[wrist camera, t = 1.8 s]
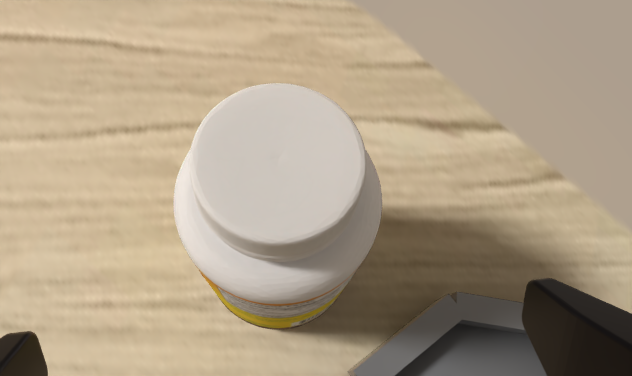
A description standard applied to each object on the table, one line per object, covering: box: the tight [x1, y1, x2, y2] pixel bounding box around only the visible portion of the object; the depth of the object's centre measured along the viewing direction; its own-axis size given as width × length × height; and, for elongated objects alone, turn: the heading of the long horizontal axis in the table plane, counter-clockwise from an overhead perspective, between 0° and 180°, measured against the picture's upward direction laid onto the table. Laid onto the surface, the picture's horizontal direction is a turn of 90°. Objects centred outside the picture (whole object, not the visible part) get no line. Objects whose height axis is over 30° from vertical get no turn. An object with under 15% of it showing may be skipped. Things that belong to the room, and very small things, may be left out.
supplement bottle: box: [174, 83, 382, 329], centre depth 16 cm, size 6×6×10 cm
